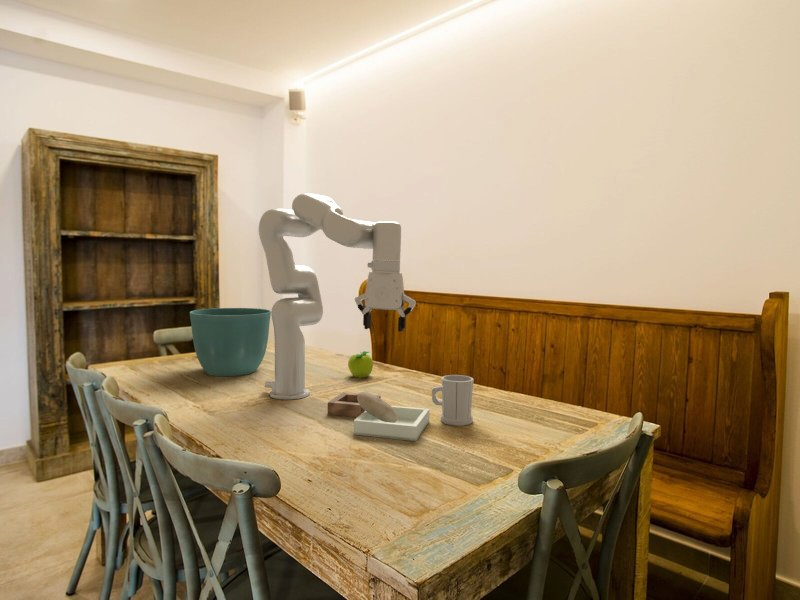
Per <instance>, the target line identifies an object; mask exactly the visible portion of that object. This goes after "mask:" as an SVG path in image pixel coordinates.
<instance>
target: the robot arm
mask: <svg viewBox="0 0 800 600" xmlns="http://www.w3.org/2000/svg"><path fill="white" fill-rule="evenodd" d="M320 230H321V231H322V232H323V234H324V235H325V236H326V238H328V239H329V240H331V241H333V242H335V243H337V244H339V245H341V246H344V247H347V248H353V249H367V250H369V249H370V250H372V260H371V262H367V268H369V269H371V271H369V272H368V275H367V279H366V280H367V281H366V285H365V286H366V287H365V292H364V293H362V294H361V295H358V296H357V297H355V298H354V301H355V304H356V306H357V309H358V310H359V311H360V312H361V314H362V317H363V319H362V323H363V324H362V325H363V326H364V330H368V329H371V327H372V326H371V324H372V314H371V313H370V312H371V311H372V310H374V309H375V310H386V311H387V310H388V311H396V312H397V313H398V315H399V316H398V321H397V325H398V327H397V331H398V332H400V333H402V332H403V331H404V330H405V329H406V323H407V322H406V320H407V319H406V318H407V316H408V315H409V314H410V313H411V312H413V309H414V307H416V306H415V305H416V304H417V301H416V300H415V299H413V298H411V297H409V296H408V295H406V294H405V289H404V288H405V287H404V285H405V284H404V278H403V273H401V246H402V245H401V244H402V226H401V224H400V223H399V222H397V221H389V220H388V221H387V220H386V221H377V222H372V221H365V220H357V219H353V218H348V217H346V216H344V212H343V209H342V208H341V207H340V206H339V205H337V204H336V202H335V200H333V199H332V198H331V197H329V196H327V195H326V196H325V195H320V194H315V193H310V192H309V193H300V194H298V195H297V196H295V198H294V199H293V200H292V204H291V209H287V208H286V209H285V208H272V209H268V210H266V211H265V212H264V213H263V214H262V215H261V216H260V220H259V223H258V235H259V240H260V243H261V246H262V247H263V251H264V254H265V260H266V265H267V271H268V275H269V276H268V277H269V280H270V285H271V289H272V290H273V292H274V293H276V294H279V295H297V297H296V296H295V297H285V298H284V297H283V298H280V299H279V300H277V301H275V302H274V303H273V305H272V307H271V310H270V311H271V320H272V325H273V333H274V334H273V335H274V380H273V381H272V380H265V382H264V388H270V389H271V390H270V392H269V397H270V398H273V399H276V400H285V401H287V400H288V401H289V400H298V399H300V400H301V399H303V398H306V397H308V396H309V395H310V392H311V391H310V390H309V389H308V388H306V387H305V386H306V383H305V382H306V341H305V340H306V339H305V336H304V334H303V332H302V330H301V327H307V326H314V325H317V324H318V323H320V322H321V321H322V318H323V314H324V309H323V308H324V307H323V301H322V297H321V295H322V294H321V291H320V285H319V281H318V277H317V275H316V273H315V271H314V270H313V269H312V268H311V267H309V266H306V265H297V264H295V261H294V255H293V251H292V249H291V247H290V245H289V243H288V242H287V241H286V239H284V237H291V238H307V237H310V236H312V235H313V234H315V233H316V232H318V231H320ZM363 300H364V304H363ZM405 302H406V303H408V306H407V307H406V309H405V308H404V305H405Z"/></svg>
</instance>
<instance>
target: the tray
mask: <svg viewBox="0 0 800 600" xmlns="http://www.w3.org/2000/svg"><path fill="white" fill-rule="evenodd" d="M391 406H392V407H393V408H394V409H395V411H396V412H397V415H398V420H397V421H396V422H395V423H390V422H384V421H382V420H380V419H378V418H376V417H374V416H372V415H371V414H369V413H368V412H367V411H365V412H363V413H362V414H361V415H360V416H358V417H355V419H354V420H353V435H355V436H362V437H364V436H365V437H373V438H382V439H393V440H402V441H411V442H417V441H418V439H419V438H420V436H421V435H422V434H423V432H424V430H425V429H426V427H427V426H428V425H429V423H430V408H423V407H412V406H399V405H391Z"/></svg>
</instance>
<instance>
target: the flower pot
mask: <svg viewBox="0 0 800 600" xmlns="http://www.w3.org/2000/svg"><path fill="white" fill-rule="evenodd" d="M271 311H272V310H270V309H266V308H265V309H264V308H251V307H250V308H249V307H220V308H218V307H217V308H202V309H195V310H191V311H189V318H190V319H189V320H190V324H191V325H190V326H191V334H192V340H193V341H192V342H193V346H194V351H195V355H196V358H197V359H198V362H199V364H200V366H201V368H202V369H203V370H204V371H205V373H206V374H207V375H210V376H213V377H214V376H217V377H237V375H238V376H244V374H245V375H248V374H253V373H255V372H256V371H257V370H258V369H259V367H260V365H261V364H262V362H263V361H264V357H265V355H266V352H267V347H268V342H269V341H268V340H269V334H270V333H269V332H270V323H271V317H272V314H271ZM254 371H255V372H254ZM252 372H253V373H252Z"/></svg>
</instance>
